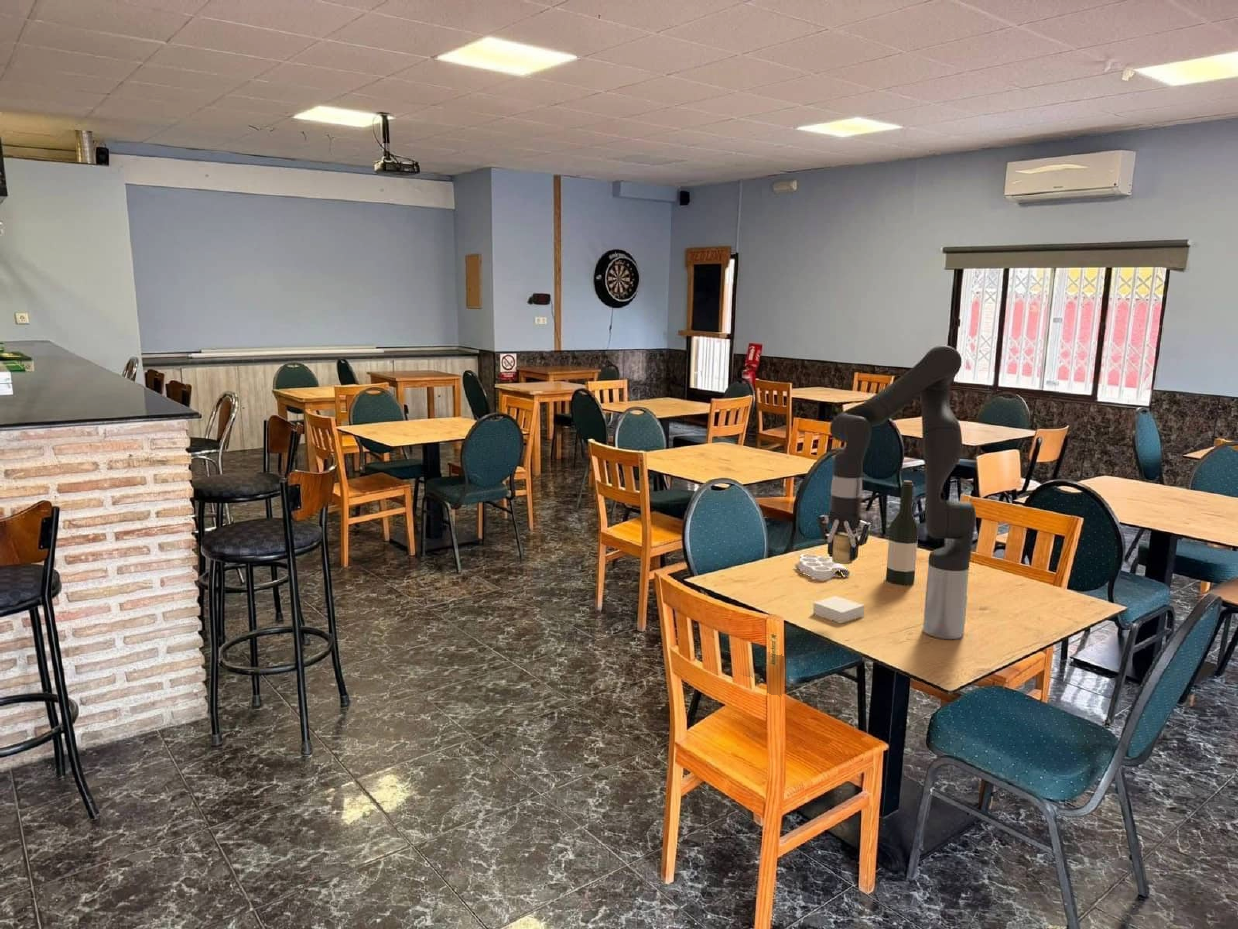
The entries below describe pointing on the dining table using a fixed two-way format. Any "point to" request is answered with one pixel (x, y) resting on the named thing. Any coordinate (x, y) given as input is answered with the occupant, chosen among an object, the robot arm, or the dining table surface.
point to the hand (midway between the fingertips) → (842, 557)
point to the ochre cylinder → (841, 549)
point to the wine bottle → (903, 541)
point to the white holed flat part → (820, 567)
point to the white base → (838, 609)
